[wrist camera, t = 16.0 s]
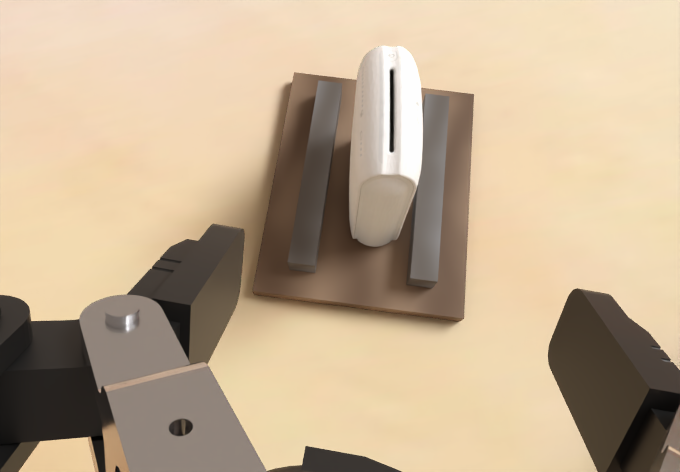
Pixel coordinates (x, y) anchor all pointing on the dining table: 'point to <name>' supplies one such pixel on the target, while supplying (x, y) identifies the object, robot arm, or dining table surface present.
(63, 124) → the dining table surface
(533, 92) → the dining table surface
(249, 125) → the dining table surface
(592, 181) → the dining table surface
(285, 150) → the cradle
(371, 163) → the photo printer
